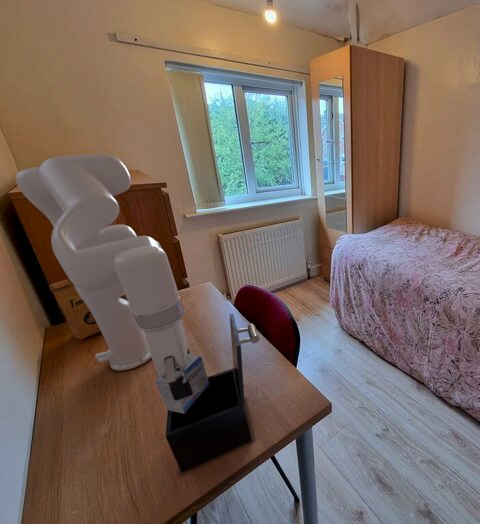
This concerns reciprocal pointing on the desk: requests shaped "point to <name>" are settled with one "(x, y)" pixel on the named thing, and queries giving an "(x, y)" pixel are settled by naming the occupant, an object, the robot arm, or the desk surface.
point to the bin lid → (237, 351)
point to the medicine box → (196, 380)
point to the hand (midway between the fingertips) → (184, 380)
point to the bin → (209, 424)
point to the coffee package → (74, 309)
